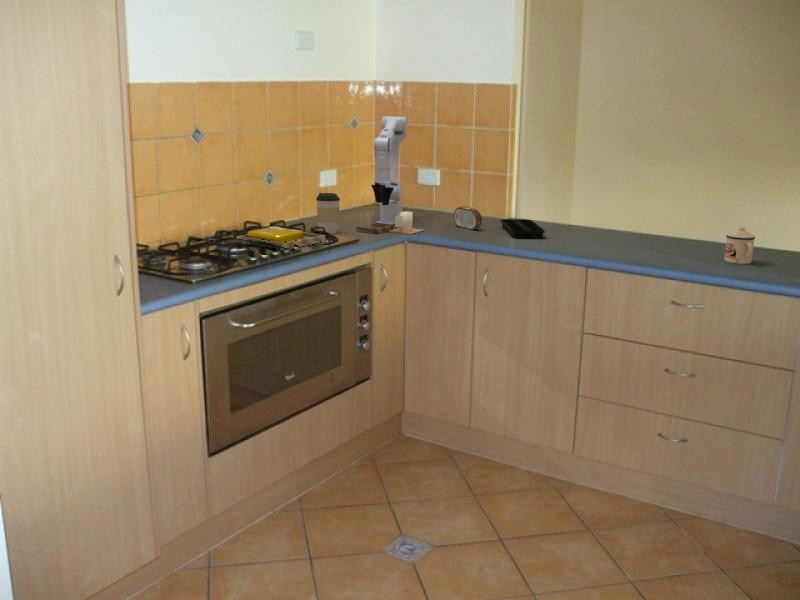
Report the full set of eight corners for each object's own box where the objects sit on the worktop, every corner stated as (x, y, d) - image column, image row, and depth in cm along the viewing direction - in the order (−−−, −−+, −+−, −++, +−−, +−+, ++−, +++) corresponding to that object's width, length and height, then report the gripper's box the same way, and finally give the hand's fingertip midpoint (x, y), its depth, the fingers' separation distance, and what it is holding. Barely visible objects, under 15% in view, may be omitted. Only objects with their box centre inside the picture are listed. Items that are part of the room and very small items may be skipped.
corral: (278, 235, 320) (278, 228, 319) (325, 242, 308) (325, 235, 308) (236, 243, 302) (236, 236, 301) (285, 251, 290) (284, 243, 290)
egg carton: (515, 241, 322) (515, 231, 321) (486, 228, 350) (487, 218, 349) (558, 239, 326) (559, 230, 325) (527, 227, 354) (527, 218, 353)
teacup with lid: (718, 259, 294) (722, 225, 291) (742, 258, 295) (747, 225, 292) (736, 266, 282) (741, 231, 279) (762, 266, 284) (766, 230, 281)
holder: (373, 227, 341) (373, 223, 341) (392, 230, 336) (392, 225, 336) (356, 231, 332) (356, 226, 332) (376, 234, 327) (376, 229, 327)
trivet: (403, 228, 341) (403, 227, 341) (424, 231, 336) (424, 229, 336) (389, 231, 333) (389, 230, 333) (411, 234, 328) (411, 233, 328)
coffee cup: (341, 231, 332) (341, 192, 329) (337, 234, 324) (337, 194, 320) (318, 230, 333) (318, 191, 330) (313, 234, 325) (313, 194, 321)
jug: (400, 232, 328) (400, 214, 327) (391, 230, 332) (392, 212, 330) (414, 230, 333) (415, 212, 332) (406, 228, 337) (406, 210, 335)
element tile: (245, 243, 304) (245, 230, 303) (273, 238, 316) (273, 225, 315) (278, 248, 296) (277, 235, 295) (305, 242, 309) (305, 229, 307)
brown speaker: (482, 231, 340) (482, 209, 338) (475, 231, 339) (476, 210, 337) (458, 225, 352) (459, 204, 350) (452, 226, 351) (453, 205, 349)
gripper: (398, 170, 328) (398, 206, 332) (386, 166, 341) (385, 201, 345) (381, 170, 326) (380, 206, 329) (369, 167, 339) (368, 201, 342)
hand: (382, 203), depth 337 cm, fingers open, 7 cm apart
